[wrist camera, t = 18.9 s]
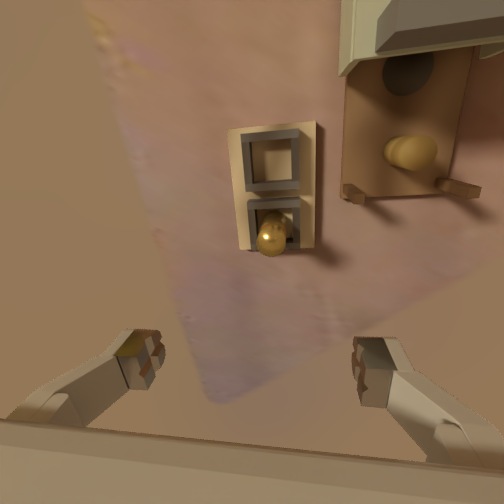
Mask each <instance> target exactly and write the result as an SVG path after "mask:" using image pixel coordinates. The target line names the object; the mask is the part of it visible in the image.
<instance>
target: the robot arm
mask: <svg viewBox="0 0 504 504" xmlns="http://www.w3.org/2000/svg"><path fill="white" fill-rule="evenodd" d="M161 337H162V336H161V333H160V331H158V330H147V329H125V330H123V331H122V332H121V333H120V335H119V336H118V337H117V338H116V339H115V340H114V341H113V343H112V344H111V345H110V346H109V347H108V348H107V349H106V350H105V352H104V353H103V354H102V355H100V356H99V355H98V356H96V357H94V358H92V359H90V360H89V361H87V362H85V363H83V364H81V365H79V366H78V367H76V368H74V369H72V370H70V371H68V372H67V373H65V374H63V375H61V376H59V377H58V378H56V379H54V380H52V381H51V382H48V383H47V384H45V385H43V386H41V387H39V388H38V389H36V390H34V391H33V392H32V393H31V394H30V395H29V396H28V397H27V398H26V399H25V400H24V401H23V402H22V403H21V404H20V405H19V406H18V407H17V408H16V409H15V410H14V411H13V412H12V413H11V414H10V415H9V416H8V417H7V418H6V419H1V418H0V504H504V439H503V437H502V435H501V434H500V432H499V431H498V430H497V428H496V427H495V426H493V425H492V424H491V423H489V422H488V421H487V420H485V419H484V418H482V417H481V416H480V415H478V414H477V413H476V412H474V411H473V410H471V409H470V408H468V407H467V406H466V405H465V404H463V403H462V402H460V401H459V400H458V399H456V398H455V397H454V396H452V395H451V394H449V393H448V392H447V391H445V390H444V389H442V388H441V387H440V386H438V385H437V384H436V383H434V382H433V381H432V380H430V379H429V378H427V377H426V376H425V375H423V374H422V373H421V372H415V370H414V368H413V366H412V364H411V362H410V360H409V359H408V357H407V355H406V353H405V351H404V349H403V347H402V345H401V343H400V342H399V340H398V339H397V338H396V337H355V336H354V339H353V347H354V352H353V353H352V370H353V375H354V379H355V380H356V381H357V382H358V384H357V391H358V395H359V399H360V402H361V406H367V407H378V408H387V411H388V412H389V413H390V414H391V415H392V416H393V418H394V419H395V420H396V421H397V422H398V423H399V424H400V425H401V426H402V427H403V429H404V430H405V431H406V432H407V433H408V434H409V436H410V437H411V438H412V439H413V440H414V441H415V442H416V444H417V445H418V446H419V447H420V448H421V449H422V450H423V451H424V453H425V454H426V455H427V458H426V462H415V461H406V460H397V459H388V458H387V459H386V458H378V457H368V456H359V455H349V454H340V453H329V452H320V451H309V450H300V449H291V448H280V447H271V446H261V445H252V444H241V443H232V442H223V441H213V440H204V439H194V438H184V437H175V436H165V435H156V434H146V433H136V432H127V431H117V430H107V429H98V428H88V427H86V426H87V425H88V424H90V423H91V422H92V421H93V420H94V419H95V418H97V417H98V416H99V415H100V414H101V413H103V412H104V411H105V410H106V409H107V408H109V407H110V406H111V405H112V404H113V403H114V402H116V401H117V400H118V399H119V398H120V397H121V396H123V395H124V394H125V393H126V392H127V391H129V390H128V389H132V390H148V389H149V387H150V385H151V384H152V382H153V380H154V379H155V377H156V376H155V371H157V370H158V369H160V368H161V366H162V364H163V362H164V359H165V347H164V345H163V344H162V343H161V342H160V340H161Z"/></svg>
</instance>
